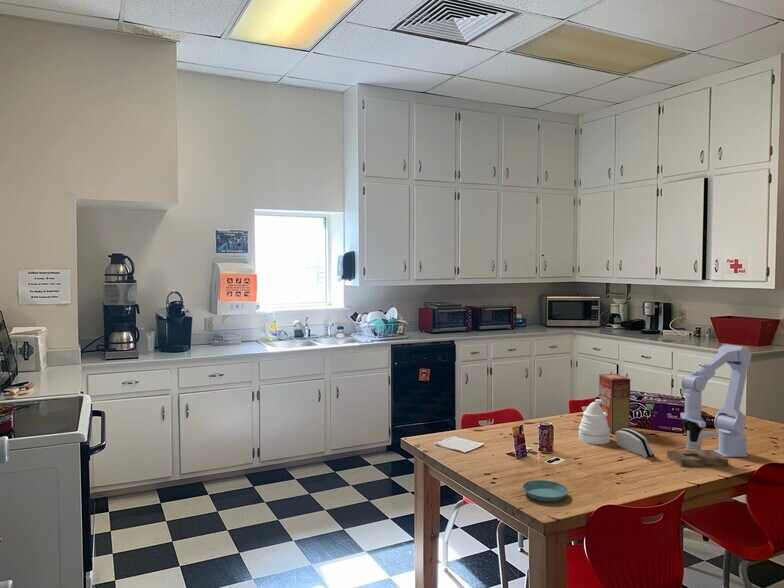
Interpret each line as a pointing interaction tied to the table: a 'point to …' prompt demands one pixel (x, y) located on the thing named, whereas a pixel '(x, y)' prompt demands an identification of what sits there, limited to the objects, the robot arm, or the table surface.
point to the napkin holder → (633, 442)
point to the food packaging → (615, 400)
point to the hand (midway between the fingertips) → (692, 440)
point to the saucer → (545, 490)
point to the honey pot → (594, 425)
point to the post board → (697, 458)
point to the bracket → (697, 444)
